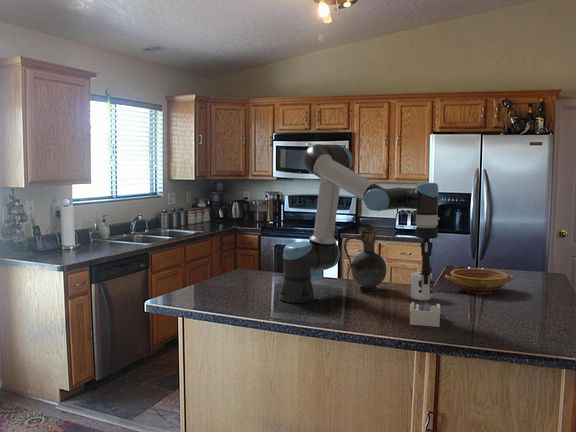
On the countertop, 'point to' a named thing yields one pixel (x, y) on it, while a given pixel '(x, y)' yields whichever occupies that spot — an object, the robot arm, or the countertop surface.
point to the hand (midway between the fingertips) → (425, 290)
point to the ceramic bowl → (479, 279)
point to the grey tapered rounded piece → (430, 284)
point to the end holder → (424, 317)
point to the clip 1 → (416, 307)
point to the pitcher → (367, 261)
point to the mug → (415, 287)
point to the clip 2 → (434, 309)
